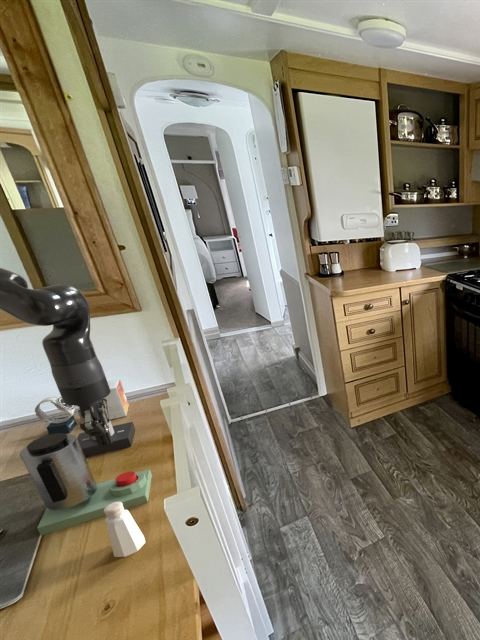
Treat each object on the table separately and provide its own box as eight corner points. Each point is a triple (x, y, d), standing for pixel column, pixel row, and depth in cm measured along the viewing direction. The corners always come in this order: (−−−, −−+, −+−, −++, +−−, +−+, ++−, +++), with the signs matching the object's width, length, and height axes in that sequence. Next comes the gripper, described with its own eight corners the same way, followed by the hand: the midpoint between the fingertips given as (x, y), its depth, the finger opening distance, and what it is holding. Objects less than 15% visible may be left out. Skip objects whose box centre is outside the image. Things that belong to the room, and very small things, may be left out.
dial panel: (74, 460, 103) (70, 451, 102) (82, 441, 110) (79, 432, 109) (131, 446, 109) (128, 437, 108) (135, 429, 117) (132, 421, 116)
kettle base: (40, 535, 80) (33, 521, 79) (55, 503, 89) (48, 489, 87) (148, 502, 90) (143, 489, 88) (152, 475, 98) (147, 463, 97)
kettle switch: (116, 489, 88) (114, 483, 88) (118, 480, 91) (116, 474, 90) (136, 483, 90) (134, 477, 90) (138, 475, 93) (135, 469, 92)
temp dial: (113, 436, 108) (106, 419, 106) (90, 442, 106) (83, 424, 103) (115, 428, 112) (109, 412, 110) (93, 434, 109) (86, 416, 107)
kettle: (37, 521, 79) (7, 463, 73) (52, 492, 87) (25, 437, 81) (92, 505, 83) (67, 449, 78) (100, 478, 91) (78, 426, 85)
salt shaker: (106, 552, 77) (87, 511, 73) (136, 532, 82) (120, 493, 77) (122, 562, 75) (104, 520, 71) (152, 541, 80) (136, 500, 76)
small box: (127, 416, 124) (116, 388, 120) (104, 421, 121) (93, 392, 117) (130, 406, 130) (120, 378, 126) (108, 410, 127) (97, 382, 123)
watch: (78, 431, 115) (65, 400, 111) (42, 438, 112) (27, 405, 108) (85, 422, 120) (72, 391, 116) (50, 428, 116) (36, 397, 112)
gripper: (64, 370, 84) (90, 435, 90) (47, 395, 74) (77, 466, 80) (109, 364, 88) (131, 427, 94) (98, 386, 78) (123, 455, 84)
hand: (106, 445), depth 87 cm, fingers closed
